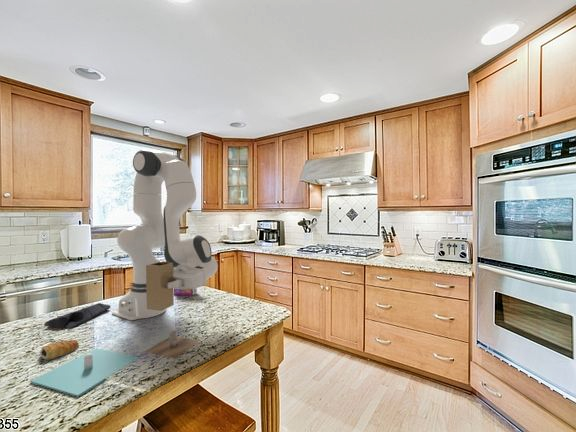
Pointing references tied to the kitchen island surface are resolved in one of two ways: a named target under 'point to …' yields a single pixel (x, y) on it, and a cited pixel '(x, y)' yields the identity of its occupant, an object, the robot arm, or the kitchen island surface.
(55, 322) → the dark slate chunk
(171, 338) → the walnut stand
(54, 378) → the teal hub plate
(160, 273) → the bronze sleeve
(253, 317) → the kitchen island surface
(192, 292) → the candy bar box
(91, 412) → the kitchen island surface
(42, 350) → the pastry
